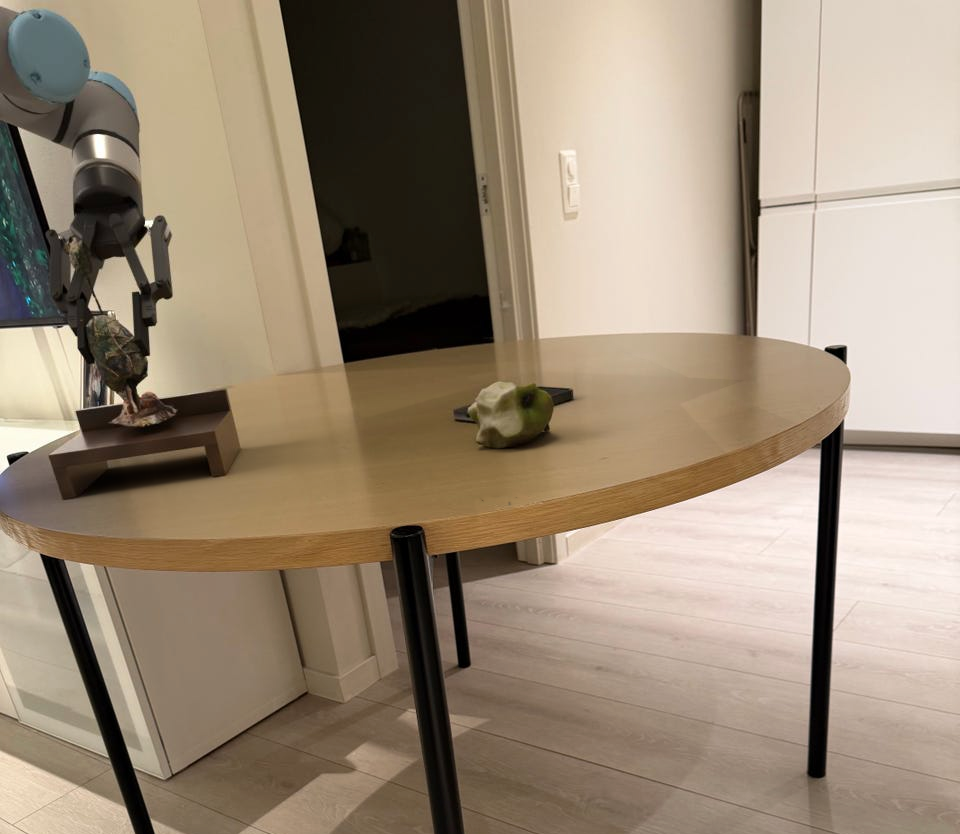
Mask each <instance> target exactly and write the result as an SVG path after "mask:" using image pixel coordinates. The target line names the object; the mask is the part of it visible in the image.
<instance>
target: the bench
mask: <svg viewBox="0 0 960 834" xmlns="http://www.w3.org/2000/svg"><path fill="white" fill-rule="evenodd" d="M158 399H159V400H160V401H161V402H162V403H163V404H164V405H166V406H172V407H174V409H175V410H177V412H176V413H175V416H172V417H171V418H168V419H166V420H163V421H162V422H159V423H158V424H157V422H156V423H155V424H150V425H148V424H145V426H144V427H141V426H139V427H132V426H131V427H130V426H123V425H119V424H115V423H113V424H110V423H109V421H110V422H112V421H113V420H114V419H115V418H117V417H118V416H120V414H121V413H122V409H123V402H120V403H113V404H106V405H100V406H99V405H97V406H93V407H92V406H91V407H85V408H78V409H76V410H75V411H74V412H75V415H76V418H77V421H78V425H79V428H80V431H81V432H79V433H78V434H76V435H75V436H74V437H72V438H71V439H69V440H68V441H67V442H65V443H64V444H62V445H61V446H59V447H58V448H56V449H55V450H54V451H52V452H51V453H50V454H49V453H48V460H49V462H50V465H51V468H52V471H53V474H54V477H55V480H56V483H57V486H58V489H59V493H60V495H61V499H62V500H70V499H76V498H77V497H79V496H80V495H81V494H82V493H83V492H84V491H85V490H86V489H88V487H90V486H91V485H92V484H93V483H94V482H95V481H96V480H98V478H99V477H101V476H102V474H104V473H105V472H106V471H107V470H108V469H109V464H108V461H113V460H120V459H121V460H122V459H127V458H134V457H142V456H148V455H155V454H162V453H169V452H174V451H181V450H188V449H195V448H203V447H204V450H205V454H206V459H207V462H208V466H209V470H210V474H211V477H212V478H216V477H223V476H226V475H227V473H228V471H229V469H230V468H231V466H232V464H233V463H234V461H235V459H236V457H237V455H238V453H239V452H240V451H241V444H240V443H241V442H240V440H239V435H238V431H237V427H236V423H235V418H234V414H233V411H232V410H233V409H232V406H231V401H230V397H229V394H228V389H227V387H224V388H217V389H210V390H204V391H203V390H202V391H196V392H189V393H183V394H174V395H169V396H161V397H158ZM118 414H119V415H118Z"/></svg>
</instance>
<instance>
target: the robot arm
mask: <svg viewBox="0 0 960 834" xmlns="http://www.w3.org/2000/svg"><path fill="white" fill-rule="evenodd" d="M91 68H92V66H91V59H90V54H89V50H88V48H87V45H86V42H85V41H84V38H83V37H82V35H81V34H80V32H79V31H78V30H77V28H76V27H75V26H74V25H73V24H72V23H71V22H70V21H69V20H68V19H67V18H65V17H64V16H62V15H60V14H59V13H57V12H54V11H52V10H48V9H43V8H35V9H34V8H32V9H28V10H26V11H25V10H23V11H22V12H18V11H15V10H12V9H10V8H7V7H4V6H1V5H0V121H3V122H5V123H7V124H10V125H12V126H13V127H14V126H15V127H17V128H19V129H22V130H24V131H26V132H29V133H31V134H34V135H36V136H38V137H41V138H43V139H45V140H48V141H50V142H52V143H54V144H57V145H60V146H61V147H64V148H65V149H68V150H71V158H72V160H71V161H72V166H71V167H72V168H71V169H72V171H71V172H72V173H71V175H72V177H71V178H72V209H73V210H72V211H73V219H72V221H71V222H70V225H69V229H67V230H64V231H62V232H59V233H58V232H57V230H56V229H53V228H51V229H48V230H47V231H46V232H45V236H46V239H47V241H48V243H49V245H50V259H49V260H50V262H49V291H48V293H49V297H50V299H51V300H52V302H53V305H55V307H56V308H57V310H58V311H59V313H60V314H67V316H68V321H67V322H68V326H69V328H70V330H71V331H72V333H73V335H74V336H75V337H76V345H77V346H76V347H77V348H76V349H77V350H78V352H79V353H80V355H81V357H82V358H83V360H84V361H85V363H86V364H87V365H89V366H90V365H96V362H95V359H94V356H93V354H92V352H91V351H90V348H89V344H88V340H87V331H86V330H87V328H86V326H87V324H88V323H89V321H90V320H91V319H92V318H93V317H95V316H94V315H93V312H92V311H91V309H90V308H89V304H90V302H91V298H92V296H93V295H92V292H91V290H90V287H89V285H88V283H87V280H86V278H85V276H84V275H83V274H80V273H79V272H77V271H76V270H75V269H74V270H73V274H72V270H71V269H72V264H71V261H70V256H69V252H70V247H71V244H72V242H73V240H74V237H78V238H81V239H83V240H84V242H85V244H86V246H87V248H88V253H89V256H90V260H91V263H92V266H93V271H92V273H91V274H88V276H89V277H90V280H91V285H92V288H93V290H94V288H95V286H96V282H97V278H98V276H99V271H100V270H103V268H104V265H105V262H106V260H108V259H111V258H125V259H126V262H127V264H128V266H129V269H130V271H131V273H132V275H133V278H134V281H135V283H136V286H137V288H138V290H139V291H131V302H132V304H131V305H132V323H133V324H132V325H133V336H134V341H135V343H136V345H137V346H138V348H139V350H140V352H141V354H142V355H143V357H145V356H146V357H151V346H150V345H151V344H150V327H151V328H152V327H156V326H157V323H158V315H157V304H158V302H159V301H160V300H168V301H169V300H170V299H172V298H173V296H174V292H173V281H172V274H171V273H172V272H171V263H170V255H169V246H170V243H171V240H172V238H173V233H172V231H171V229H170V226H169V224H168V221H167V220H166V217H165V216H164V215H160V214H159V215H156V216H155V218H154V219H146V216H145V215H144V203H143V202H144V200H143V193H142V192H143V189H142V165H141V159H140V158H141V157H140V156H141V155H140V154H141V153H140V132H141V131H140V130H141V127H140V126H141V123H140V120H139V115H138V109H137V108H138V107H137V104H136V100H135V97H134V95H133V93H132V91H131V89H130V88H129V87H128V85H126V83H124V81H122V80H121V79H120V78H119V77H117V76H115V75H114V74H112V73H109V72H106V71H95V70H91ZM147 234H148V236H149V238H150V246H151V256H152V266H153V275H154V276H153V277H154V281H153V282H150V281H149V279H148V275H147V274H146V272H145V270H144V267H143V265H142V262H141V260H140V256H139V255H138V253H137V250H136V248H137V247H138V245H139V244H140V243H141V241H142V240H143V239H144V238H145V237H146V235H147ZM80 320H81V321H80ZM82 320H83V321H82Z"/></svg>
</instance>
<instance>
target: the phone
mask: <svg viewBox="0 0 960 834" xmlns="http://www.w3.org/2000/svg"><path fill="white" fill-rule="evenodd" d="M536 387H537V388H538V389H540V390H544V391H546V392H547V393H548V394H549V395H550V396H551V398H552V401H553V404H554V406H555V405H557V404H560V403H564V402H567V401H570V400H569V399H571V400H573V399H574V398H575V397H574V388H571V387H554V386H542V385H541V386H537V385H536ZM572 398H573V399H572ZM566 400H567V401H566ZM472 404H473V403H471V404H467V405H464V406H461V407H457V408H454V409H453V410H452V412H453V418H454V420H455V421H462V422H470V423H476V422H475V421H474V420H471V418H470V415H469V413H468V408H469V407H470V406H471V405H472Z"/></svg>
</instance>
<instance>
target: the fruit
mask: <svg viewBox="0 0 960 834" xmlns="http://www.w3.org/2000/svg"><path fill="white" fill-rule="evenodd" d="M474 400H475V402H473V403H471V404H472V405H471V404H470V405H471V406H470V407H469V408H468V413H469V415H470V418H471V420H474V421H475V422H474V423H476V424H477V426H478V427H477V428H478V432H477V435H476V437H475V441H476V443H477V444H478V445H481V446H485V447H487V448H489V449H495V448H496V449H503V448H509V447H511V448H515V446H516V447H519V446H522V445H525V444H528V443H531V442H533V441H534V439H535V438H536V437H537V436H539V434H540V433H542V432H543V431H544V433H545V432H549V431H550V430H551V427H550V422H551V419H552V418H553V413H554V407H555V405H554V404H553V401H552V398H551V396H550V395H549V394H548V393H547V392H546V391H544V390H540V389H538V388H537V384H536V383H535V382H531V383H528V384H526V385H525V386H524V385H516V384H515V383H514V382H512V381H511V382H504V381H499V380H498V381H496V382H494V383H492V384H490V385H489V386H487V387H485V388H482V389H481V390H480V392H479V393H478V395H477V397H475V399H474Z"/></svg>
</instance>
